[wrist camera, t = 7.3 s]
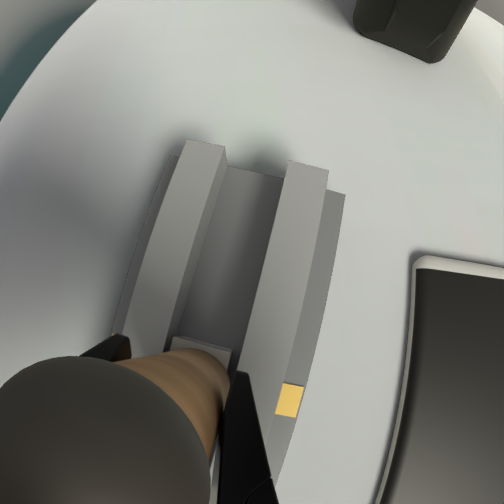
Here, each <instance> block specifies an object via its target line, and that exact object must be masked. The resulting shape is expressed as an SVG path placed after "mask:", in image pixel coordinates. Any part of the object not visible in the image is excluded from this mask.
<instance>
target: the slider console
mask: <svg viewBox="0 0 504 504" xmlns="http://www.w3.org/2000/svg"><path fill="white" fill-rule="evenodd" d="M328 174H329V170H326V169H322V168H318V167H314V166H310V165H306V164H302V163H298V162H294V161H290V160H289V162H288V166H287V171H286V175H285V179H283V178H279V177H275V176H270V175H266V174H262V173H257V172H253V171H248V170H243V169H239V168H234V167H229V166H227V160H226V152H225V146H220V145H215V144H209V143H204V142H198V141H192V140H187V141H186V143H185V146H184V148H183V150H182V153H181V155H180V157H177V156H171V155H170V157H169V159H168V162H167V164H166V167H165V169H164V172H163V174H162V177H161V179H160V182H159V184H158V187H157V189H156V192H155V195H154V197H153V200H152V203H151V205H150V208H149V211H148V214H147V217H146V219H145V222H144V225H143V228H142V231H141V234H140V237H139V240H138V243H137V246H136V249H135V252H134V255H133V258H132V261H131V264H130V268H129V271H128V274H127V277H126V281H125V284H124V288H123V291H122V294H121V298H120V302H119V305H118V309H117V313H116V316H115V320H114V324H113V328H112V332H111V336H112V335H114V334H117V333H119V334H122V335H125V336H127V337H129V339H130V345H131V352H132V357H131V359H133V358H138V357H144V356H149V355H154V354H159V353H164V352H168V351H170V347H171V343H172V339H173V337H174V336H186V337H189V338H193V339H196V340H200V341H203V342H207V343H210V344H214V345H218V346H222V347H225V348H229V349H233V353H232V357H231V361H230V365H229V368H228V372H227V374H228V376H229V380H230V385H231V381H232V378H233V374H234V371H235V370H239V371H243V372H247V373H248V374H249V376H250V380H251V385H252V390H253V394H254V399H255V404H256V408H257V413H258V418H259V422H260V427H261V431H262V436H263V440H264V445H265V449H266V454H267V458H268V462H269V467H270V471H271V475H272V476H271V478H272V479H273V483H274V488H275V485H276V483H277V480H278V477H279V474H280V471H281V468H282V465H283V462H284V459H285V456H286V452H287V449H288V446H289V443H290V440H291V437H292V433H293V430H294V427H295V423H296V420H297V416H298V413H299V409H300V406H301V402H302V399H303V395H304V391H305V388H306V384H307V380H308V377H309V373H310V369H311V365H312V361H313V357H314V353H315V349H316V345H317V340H318V336H319V332H320V328H321V323H322V319H323V314H324V310H325V305H326V300H327V295H328V291H329V286H330V281H331V276H332V271H333V265H334V260H335V255H336V249H337V243H338V238H339V232H340V226H341V220H342V213H343V207H344V200H345V194H341V193H337V192H334V191H330V190H326V185H327V180H328ZM111 336H110V337H111ZM218 432H219V431H218ZM217 437H218V435H217ZM216 444H217V438H216V441H215V444H214V447H213V450H212V453H211V456H210V459H209V462H208V464H209V469H210V476H211V483H212V475H213V467H214V459H215V451H216Z"/></svg>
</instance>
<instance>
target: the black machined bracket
mask: <svg viewBox="0 0 504 504" xmlns="http://www.w3.org/2000/svg"><path fill="white" fill-rule="evenodd" d="M476 2H477V0H357V4H356V8H355V12H354V16H353V22H354V25H355V26H356V28H357V29H358V30H359V31H360V32H361V33H362V34H363V35H364V36H365V37H368V38H371V39H373V40H376V41H379V42H381V43H384V44H387V45H389V46H392V47H394V48H397V49H399V50H401V51H404V52H406V53H408V54H411V55H413V56H415V57H417V58H419V59H422V60H424V61H426V62H428V63H436V62H439V61H441V60H442V59H443V58H444V57H445V55H446V54H447V52H448V51H449V49H450V47H451V46H452V44H453V42H454V40H455V39H456V37H457V35H458V34H459V32H460V30H461V29H462V27H463V25H464V23H465V22H466V20H467V18H468V16H469V15H470V13H471V11H472V9H473V8H474V6H475V4H476Z"/></svg>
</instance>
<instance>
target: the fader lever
mask: <svg viewBox="0 0 504 504" xmlns="http://www.w3.org/2000/svg"><path fill="white" fill-rule="evenodd" d="M232 353H233V349H229V348H225V347H222V346H218V345H214V344H210V343H207V342H203V341H200V340H196V339H193V338H189V337H186V336H174V337H173V339H172V343H171V347H170V351H168V352H164V353H159V354H154V355H149V356H144V357H138V358H133V359H128V360H122V361H117V362H109V361H106V360H103V359H98V358H92V357H78V356H66V357H57V358H51V359H47V360H44V361H40V362H37V363H35V364H33V365H31V366H29V367H27V368H25V369H22V370H21V371H19V372H18V373H17V374H15V375H14V376H13V377H11V378H10V379H9V380H8V381H7V382H6V383H5V384H4V385H3V386H2V387H1V388H0V504H209V500H210V492H211V476H210V469H209V464H208V462H209V459H210V456H211V453H212V450H213V447H214V444H215V441H216V438H217V435H218V431H219V428H220V424H221V420H222V415H223V411H224V407H225V403H226V399H227V396H228V392H229V389H230V380H229V376H228V374H227V372H228V368H229V365H230V361H231V357H232Z"/></svg>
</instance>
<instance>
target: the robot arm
mask: <svg viewBox="0 0 504 504" xmlns="http://www.w3.org/2000/svg"><path fill="white" fill-rule="evenodd" d="M78 357H92V358H98V359H103V360H106V361H109V362H117V361H122V360H128V359H131V357H132V352H131V345H130V339H129V337H127V336H125V335H122V334H119V333H117V334H114V335H112V336H111V337H109V338H108V339H106V340H104V341H103V342H101V343H99V344H98V345H96V346H94V347H93V348H91V349H90V350H88V351H86V352H85V353H83V354H81V355H80V356H78ZM271 476H272V475H271V471H270V467H269V462H268V458H267V454H266V449H265V445H264V440H263V436H262V431H261V427H260V422H259V418H258V413H257V408H256V404H255V399H254V394H253V390H252V385H251V380H250V376H249V374H248V373H247V372H243V371H239V370H235V371H234V374H233V378H232V381H231V385H230V389H229V392H228V396H227V399H226V403H225V407H224V411H223V415H222V420H221V424H220V428H219V432H218V437H217V444H216V451H215V459H214V467H213V475H212V483H211V492H210V500H209V504H279V502H278V499H277V495H276V491H275V488H274V483H273V479H272V478H271Z"/></svg>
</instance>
